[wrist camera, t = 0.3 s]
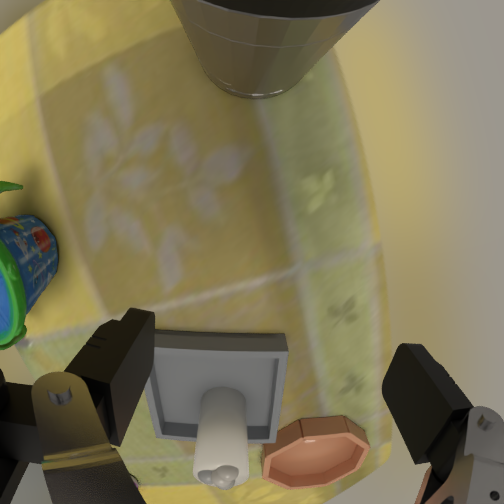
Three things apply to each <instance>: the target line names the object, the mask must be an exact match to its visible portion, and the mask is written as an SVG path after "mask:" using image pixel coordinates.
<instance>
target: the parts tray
mask: <svg viewBox="0 0 504 504" xmlns="http://www.w3.org/2000/svg"><path fill="white" fill-rule="evenodd" d="M288 352H289V351H288V347H287V342H286V338H285V334H243V333H209V332H187V331H170V330H155V346H154V362H153V367H152V371H151V373H150V376H149V378H148V380H147V383H146V385H145V387H144V388H145V393H146V397H147V402H148V406H149V410H150V415H151V419H152V423H153V427H154V430H155V434H156V438H162V439H171V440H181V441H194V442H196V440H197V431H198V423H199V414H200V406H201V399H202V396H203V394H204V393H205V392H206V391H208V390H210V389H212V388H216V387H229V388H233V389H236V390H238V391H239V392H241V393H242V394H243V395H244V397H245V399H246V410H247V437H248V443H276V437H277V430H278V424H279V417H280V411H281V404H282V397H283V390H284V383H285V375H286V368H287V360H288Z"/></svg>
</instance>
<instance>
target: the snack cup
mask: <svg viewBox="0 0 504 504" xmlns="http://www.w3.org/2000/svg"><path fill="white" fill-rule="evenodd" d="M19 189H23V186H22V185H19V184H15V183H11V182H5V181H0V193H1V192H4V191H12V190H19ZM57 264H58V253H57V248H56V240H55V237H54V236H53V235H52V234H51V232H50V231H49V230H48V228H47V227H46V226H45V225H44V224H43V223H42V222H41V221H40V220H38V219H37V218H35V217H34V216H31V215H18V216H15V217H6V218H0V350H5V349H7V348H9V347H11V346H12V345H14V344H16V343H17V342H18V341H20V340H21V339H22V338H23V337H24V336H25V334H26V332H27V328H26V326H25V325H24V322H25V317H26V314H28V312H29V311H30V310H31V308H32V306H33V305H34V304H35V302H36V301H37V299H38V298H39V296H40V295H41V293H42V292H43V291H44V290H45V288H46V287H47V285H48V284H49V282H50V281H51V279H52V278H53V277H54V275H55V274H56V272H57Z"/></svg>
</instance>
